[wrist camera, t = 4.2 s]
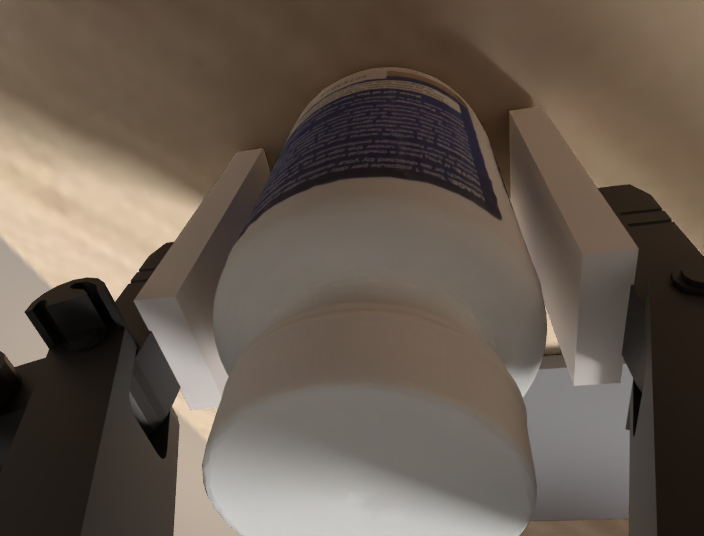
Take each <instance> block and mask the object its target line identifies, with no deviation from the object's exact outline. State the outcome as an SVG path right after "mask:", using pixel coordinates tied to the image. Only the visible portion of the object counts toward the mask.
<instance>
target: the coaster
mask: <svg viewBox="0 0 704 536" xmlns="http://www.w3.org/2000/svg"><path fill="white" fill-rule="evenodd" d="M632 383H633V377H632V375H631V373H630V371H629V369H628V367H627V365H626V362H625V360H623V368H622V375H621V382H620V383H613V384H597V385H580V386H573V383H572V380H571V377H570V374H569V371H568V369H567V366H566V363H565V360H564V357H563V355H549V356H543V358H542V361H541V365H540V367H539V370H538V372H537V374H536V377H535V379H534V381H533V383H532V384H531V386H530V388H529V389H528V391H527V392H526V394H525V395H524V397H523V400H524V403H525V407H526V411H527V429H528V435H529V440H530V446H531V451H532V457H533V462H534V468H535V475H536V483H537V497H536V504H535V508H534V512H533V514H532V517H531V519H530V521H560V520H609V519H627V516H628V511H629V458H630V430H626V422H627V416H628V409H629V403H630V396H631V390H632Z"/></svg>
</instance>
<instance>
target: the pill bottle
mask: <svg viewBox="0 0 704 536" xmlns="http://www.w3.org/2000/svg"><path fill="white" fill-rule="evenodd" d="M213 331H214V337H215V343H216V347H217V350H218V354H219V357H220V360H221V362H222V364H223V366H224V368H225V371H226V373H227V375H228V376H229V377H228V379H227V382H226V384H225V387H224V390H223V394H222V398H221V401H220V404H219V407H218V410H217V413H216V416H215V420H214V423H213V426H212V429H211V432H210V435H209V438H208V442H207V445H206V449H205V454H204V459H203V464H202V468H203V483H204V486H205V490H206V493H207V496H208V498H209V500H210V501H211V502H212V504H213V506H214V508H215V510H216V511H217V512H218V513H219V515H220V516H221V517H222V518H223V519H224V520H225V522H226V523H227V524H229V525H230V527H231V528H233V529H234V530H235V531H236V532H237V533H238V534H240V535H241V536H519V535H520V534H521V533H522V532H523V530H524V529H525V528H526V526H527V525H528V523H529V521H530V519H531V517H532V514H533V512H534V508H535V504H536V497H537V483H536V475H535V468H534V462H533V457H532V451H531V446H530V440H529V435H528V429H527V411H526V407H525V403H524V400H523V397H524V395H525V394H526V392H527V391H528V389H529V388H530V386H531V384H532V383H533V381H534V379H535V377H536V374H537V372H538V370H539V367H540V365H541V361H542V358H543V354H544V350H545V345H546V335H547V320H546V310H545V305H544V299H543V295H542V287H541V283H540V281H539V278H538V275H537V272H536V270H535V267H534V265H533V263H532V260H531V257H530V255H529V252H528V249H527V247H526V244H525V241H524V238H523V235H522V233H521V230H520V227H519V224H518V221H517V219H516V215H515V212H514V209H513V207H512V205H511V202H510V199H509V196H508V193H507V190H506V188H505V185H504V182H503V179H502V177H501V173H500V170H499V167H498V165H497V161H496V159H495V157H494V153H493V150H492V147H491V144H490V141H489V138H488V136H487V134H486V132H485V131H484V128H483V127H482V125H481V123H480V121H479V120H478V118H477V116H476V114H475V113H474V111H473V110H472V109H471V107H470V106H469V105H468V103H467V102H466V101H465V100H464V99H463V98H462V97H461V96H460V95H459V94H458V93H457V92H455V91H454V90H453V89H452V88H451V87H450V86H448V85H447V84H445V83H443V82H442V81H440V80H438V79H437V78H435V77H432V76H430V75H427V74H425V73H422V72H419V71H416V70H411V69H406V68H397V67H383V68H371V69H367V70H363V71H360V72H357V73H354V74H351V75H349V76H346V77H344V78H342V79H340V80H338V81H336V82H334V83H333V84H331V85H329V86H328V87H326V88H325V89H324V90H322V91H321V92H320V93H319V94H318V95H317V96H316V97H315V98H314V99H312V101H311V102H310V103H309V104H308V105H307V106H306V108H305V109H304V111H303V112H302V114H301V115H300V117H299V118H298V120H297V121H296V123H295V125H294V126H293V128H292V130H291V132H290V134H289V136H288V139H287V141H286V143H285V145H284V147H283V149H282V150H281V153H280V155H279V157H278V159H277V161H276V163H275V165H274V167H273V169H272V171H271V174H270V176H269V178H268V180H267V181H266V183H265V185H264V187H263V189H262V191H261V193H260V195H259V197H258V199H257V202H256V204H255V206H254V208H253V210H252V212H251V213H250V215H249V218H248V220H247V222H246V224H245V226H244V228H243V230H242V231H241V233H240V235H239V237H238V239H237V241H236V242H235V244H234V246H233V248H232V250H231V252H230V254H229V256H228V259H227V262H226V265H225V267H224V269H223V272H222V274H221V277H220V280H219V283H218V287H217V291H216V295H215V299H214V308H213Z"/></svg>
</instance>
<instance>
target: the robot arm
mask: <svg viewBox="0 0 704 536" xmlns="http://www.w3.org/2000/svg"><path fill="white" fill-rule="evenodd" d="M509 130H510V181H511V205H512V207H513V209H514V212H515V215H516V219H517V221H518V224H519V227H520V230H521V233H522V235H523V238H524V241H525V244H526V247H527V249H528V252H529V255H530V257H531V260H532V263H533V265H534V267H535V270H536V272H537V275H538V278H539V281H540V283H541V287H542V295H543V299H544V303H545V306H546V309H547V312H548V314H549V317H550V320H551V323H552V326H553V329H554V332H555V334H556V337H557V340H558V343H559V346H560V349H561V351H562V354H563V357H564V360H565V363H566V366H567V369H568V371H569V374H570V377H571V380H572V383H573V386H580V385H597V384H613V383H620V382H621V375H622V368H623V360H625V362H626V365H627V367H628V369H629V371H630V373H631V375H632V377H633V383H632V390H631V396H630V403H629V409H628V416H627V422H626V430H630V458H629V536H704V256H702V255H701V253H700V252H699V251H698V250H697V249H696V247H695V246H694V245H693V244H692V243H691V242H690V240H689V239H688V238H687V237H686V236H685V235H684V233H683V232H682V231H681V230H680V229H679V228H678V226H677V225H676V224H675V223H674V222H671V218H670V217H669V216H668V215H667V214H666V212H665V211H662V208H661V207H660V205H659V204H658V203H657V202H656V201H655V200H654V198H653V197H652V196H651V195H650V194H648V193H646V192H644V191H642V190H640V189H638V188H636V187H634V186H632V185H630V184H628V185H619V186H611V187H603V188H597V187H596V185H595V184H594V183H593V181H592V180H591V178H590V177H589V175H588V174H587V172H586V171H585V169H584V168H583V166H582V165H581V164H580V162H579V161H578V159H577V158H576V156H575V155H574V153H573V152H572V150H571V149H570V148H569V146H568V145H567V143H566V142H565V140H564V139H563V137H562V136H561V134H560V133H559V131H558V130H557V129H556V127H555V126H554V124H553V123H552V121H551V120H550V118H549V117H548V115H547V114H546V113H545V111H544V110H543V108H542V107H541V106H537V107H530V108H524V109H517V110H511V111H509ZM270 174H271V173H270V169H269V166H268V162H267V159H266V155H265V152H264V148H259V149H253V150H246V151H240V152H236V154H235V155H234V157H233V158H232V160H231V161H230V162H229V164H228V165H227V167H226V168H225V170H224V171H223V173H222V174H221V175H220V177H219V178H218V180H217V181H216V183H215V184H214V185H213V187H212V188H211V190H210V191H209V193H208V194H207V196H206V197H205V198H204V200H203V201H202V203H201V204H200V206H199V207H198V209H197V210H196V211H195V213H194V214H193V216H192V217H191V219H190V220H189V221H188V223H187V224H186V226H185V227H184V229H183V230H182V232H181V233H180V234H179V236H178V237H177V239H176V240H175V242H169V243H165V244H164V245H163V246H162V247H160V248H159V249H158V250H156V251H155V252H154V253H152V254H151V255H150V256H149V257H148V258H147V260H146V261H145V262H144V264H143V265H142V266H141V268H140V269H139V272H137V273H136V275H135V276H134V277H133V279H132V280H131V284H128V285H127V287H126V288H125V289H124V291H123V292H122V293H121V295H120V296H119V298H118V299H117V300H116V302H114V300H113V298H112V296H111V294H110V292H109V291H108V289H107V287H106V285H105V283H104V282H103V281H101V280H100V279H98V278H82V279H77V280H72V281H70V282H67V283H64V284H61V285H59V286H57V287H55V288H53V289H51V290H49V291H48V292H46V293H44V294H43V295H41V296H40V297H39V298H37V299H36V300H35V301H34V302H32V303H31V305H30V306H29V307H28V309H27V310H26V311H25V313H26V315H27V316H28V318H29V319H30V321H31V322H32V324H33V325H34V327H35V328H36V330H37V331H38V333H39V334H40V336H41V337H42V338H43V340H44V342H45V343H46V344H47V346H48V348H49V351H48V354H47V356H46V358H43V359H40V360H37V361H34V362H30V363H27V364H24V365H20V366H17V367H14V366H13V365H12V364H11V362H10V361H9V360H8V358H7V357H6V356H5V354H4V353H2V352H1V351H0V536H173V532H174V513H175V496H176V477H177V459H178V440H179V421H178V417H177V415H176V413H175V411H174V409H173V408H172V405H173V403H174V400H175V398H176V396H177V394H178V392H179V390H180V391H181V393H182V395H183V397H184V399H185V401H186V403H187V405H188V406H189V408H190V410H197V409H213V408H218V407H219V404H220V401H221V398H222V394H223V390H224V387H225V384H226V382H227V379H228V377H229V376H228V375H227V373H226V371H225V368H224V366H223V364H222V362H221V360H220V357H219V354H218V350H217V347H216V343H215V337H214V331H213V308H214V299H215V295H216V291H217V287H218V283H219V280H220V277H221V274H222V272H223V269H224V267H225V265H226V262H227V259H228V256H229V254H230V252H231V250H232V248H233V246H234V244H235V242H236V241H237V239H238V237H239V235H240V233H241V231H242V230H243V228H244V226H245V224H246V222H247V220H248V218H249V215H250V213H251V212H252V210H253V208H254V206H255V204H256V202H257V199H258V197H259V195H260V193H261V191H262V189H263V187H264V185H265V183H266V181H267V180H268V178H269V176H270Z"/></svg>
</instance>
